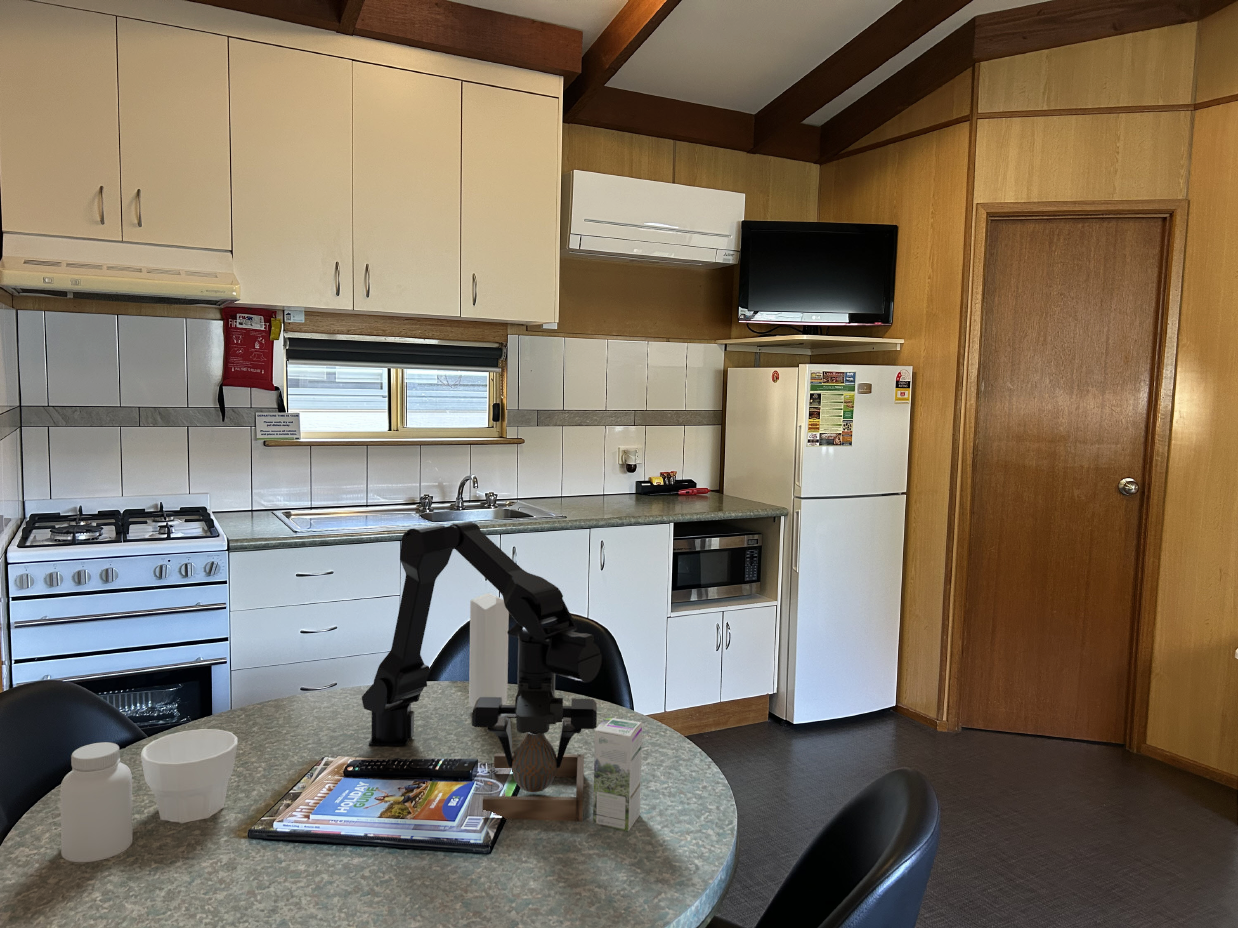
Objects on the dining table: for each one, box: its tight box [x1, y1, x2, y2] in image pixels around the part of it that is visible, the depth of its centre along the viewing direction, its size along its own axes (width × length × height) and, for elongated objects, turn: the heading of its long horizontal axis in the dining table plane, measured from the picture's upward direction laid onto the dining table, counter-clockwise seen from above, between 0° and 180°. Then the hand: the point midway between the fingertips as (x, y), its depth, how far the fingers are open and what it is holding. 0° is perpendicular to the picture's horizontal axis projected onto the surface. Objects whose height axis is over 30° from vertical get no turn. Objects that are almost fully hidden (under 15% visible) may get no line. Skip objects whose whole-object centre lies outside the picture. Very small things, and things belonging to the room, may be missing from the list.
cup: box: [140, 728, 239, 824], centre depth 123 cm, size 12×12×11 cm
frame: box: [482, 753, 585, 822], centre depth 133 cm, size 14×16×4 cm
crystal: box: [468, 592, 510, 709], centre depth 165 cm, size 7×7×24 cm
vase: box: [512, 732, 557, 793], centre depth 133 cm, size 7×7×9 cm
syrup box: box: [592, 717, 643, 832], centre depth 126 cm, size 6×6×14 cm
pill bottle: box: [59, 741, 133, 863], centre depth 112 cm, size 8×8×15 cm
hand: (534, 766), depth 133 cm, fingers closed on vase, 7 cm apart
